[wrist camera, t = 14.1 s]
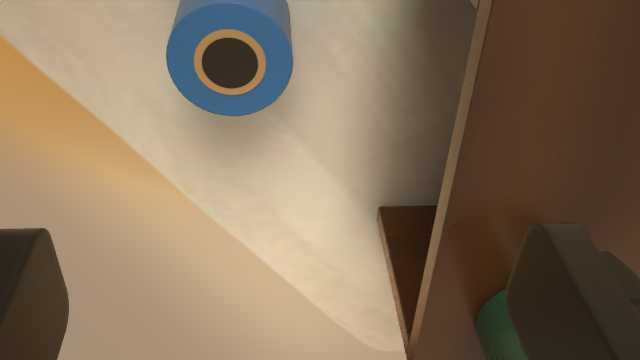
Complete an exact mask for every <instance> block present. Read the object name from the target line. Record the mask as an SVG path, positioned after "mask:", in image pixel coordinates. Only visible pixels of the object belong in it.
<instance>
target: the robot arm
mask: <svg viewBox="0 0 640 360" xmlns="http://www.w3.org/2000/svg"><path fill="white" fill-rule="evenodd" d="M506 301H507V308H508V313H509V316H510V319H511V321H512V324H513V326H514V328H515V331H516V333H517V335H518V338H519V340H520V343H521V345H522V347H523V350H524V352H525V355H526V357H527V359H528V360H640V279H639V278H638V277H637V275H636V274H635V273H634V272H633V271H632V270H631V269H630V268H628V267H627V266H626V265H625V264H624V263H622V262H621V261H620V260H619V259H618V258H616V257H615V256H614V255H613V254H612V253H610V252H609V251H599V250H598V249H597V247H596V246H595V244H594V243H593V241H592V239H591V238H590V236H589V235H588V233H587V232H586V230H585V229H584V227H583V226H582V225H581V224H580V223H578V222H534V223H531V224H530V225H529V226H528V228H527V230H526V232H525V235H524V238H523V241H522V244H521V246H520V249H519V252H518V255H517V257H516V260H515V263H514V266H513V269H512V271H511V274H510V277H509V280H508V283H507V290H506ZM68 314H69V300H68V293H67V289H66V286H65V282H64V279H63V276H62V272H61V269H60V265H59V262H58V259H57V255H56V252H55V249H54V245H53V242H52V239H51V236H50V234H49V232H48V231H47V230H46V229H44V228H40V229H39V228H37V229H36V228H33V229H0V360H57V358H58V354H59V351H60V348H61V345H62V341H63V338H64V335H65V331H66V327H67V322H68Z"/></svg>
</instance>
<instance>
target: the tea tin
mask: <svg viewBox="0 0 640 360" xmlns="http://www.w3.org/2000/svg"><path fill="white" fill-rule="evenodd" d="M506 290H507V288H506V289H504V290H502V291H500V292H499V293H497V294H496V295H494V296H493V297H492V298H490V299H489V300H488V301H487V302H486V303H485V304H484V305H483V306H482V308H481V309H480V311H479V312H478V315H477V317H476V321H475V329H476V333H477V336H478V339H479V342H480V345H481V348H482V351H483V354H484V357H485V360H528V359H527V357H526V355H525V352H524V350H523V347H522V345H521V343H520V340H519V338H518V335H517V333H516V331H515V328H514V326H513V324H512V321H511V319H510V316H509V313H508V308H507V301H506Z"/></svg>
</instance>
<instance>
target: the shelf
mask: <svg viewBox="0 0 640 360" xmlns="http://www.w3.org/2000/svg"><path fill="white" fill-rule="evenodd" d="M470 1H471V3H472V4H473V6H474V7H475V8H476V10H477V11H478V13H477V17H476V22H475V27H474V32H473V37H472V42H471V47H470V51H469V56H468V61H467V66H466V71H465V76H464V81H463V85H462V90H461V95H460V100H459V105H458V110H457V114H456V119H455V124H454V129H453V134H452V139H451V144H450V148H449V153H448V158H447V163H446V168H445V173H444V177H443V182H442V187H441V192H440V197H439V202H438V206H401V207H379V208H378V216H377V222H378V227H379V231H380V236H381V241H382V245H383V250H384V255H385V259H386V264H387V269H388V273H389V278H390V282H391V287H392V292H393V296H394V301H395V306H396V310H397V315H398V319H399V324H400V329H401V333H402V338H403V343H404V347H405V352H406V355H407V360H485V357H484V354H483V351H482V348H481V345H480V342H479V339H478V336H477V333H476V329H475V321H476V317H477V315H478V312H479V311H480V309H481V308H482V306H483V305H484V304H485V303H486V302H487V301H488V300H489V299H490V298H492V297H493V296H494V295H496V294H497V293H499V292H500V291H502V290H504V289H506V288H507V283H508V280H509V277H510V274H511V271H512V269H513V266H514V263H515V260H516V257H517V255H518V252H519V249H520V246H521V244H522V241H523V238H524V235H525V232H526V230H527V228H528V226H529V225H530V224H531V223H534V222H578V223H580V224H581V225H582V226H583V227H584V229H585V230H586V232H587V233H588V235H589V236H590V238H591V239H592V241H593V243H594V244H595V246H596V247H597V249H598V250H599V251H609V252H610V253H612V254H613V255H614V256H615V257H616V258H618V259H619V260H620V261H621V262H622V263H624V264H625V265H626V266H627V267H628V268H630V269H631V270H632V271H633V272H634V273H635V274H636V275H637V277H638V278H639V279H640V0H470Z"/></svg>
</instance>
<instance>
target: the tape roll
mask: <svg viewBox="0 0 640 360" xmlns="http://www.w3.org/2000/svg"><path fill="white" fill-rule="evenodd" d="M166 58H167V66H168V70H169V73H170V76H171V78H172V80H173V82H174V84H175V85H176V87H177V88H178V90H179V91H180V92H181V93H182V94H183V95H184V96H185V97H186V98H187V99H188V100H189V101H190V102H192V103H193V104H195V105H196V106H198V107H200V108H202V109H204V110H206V111H209V112H212V113H215V114H220V115H226V116H240V115H246V114H251V113H254V112H257V111H259V110H261V109H263V108H265V107H267V106H269V105H270V104H271V103H273V102H274V101H275V100H276V99H277V98H278V97H279V96H280V95H281V94H282V92H283V91H284V90H285V88H286V86H287V84H288V82H289V79H290V77H291V73H292V66H293V58H292V44H291V30H290V16H289V9H288V4H287V2H286V0H181V1H180V4H179V8H178V11H177V14H176V17H175V21H174V24H173V27H172V31H171V34H170V37H169V41H168V45H167V52H166Z"/></svg>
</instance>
